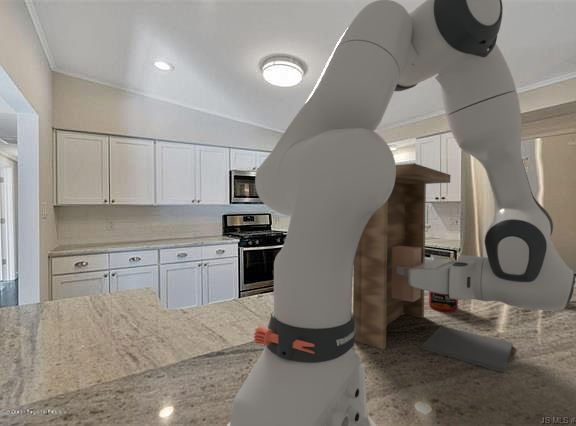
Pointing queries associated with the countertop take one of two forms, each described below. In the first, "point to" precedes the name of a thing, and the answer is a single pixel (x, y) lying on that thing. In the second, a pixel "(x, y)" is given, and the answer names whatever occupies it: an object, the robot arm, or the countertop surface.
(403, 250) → the block
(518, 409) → the countertop surface
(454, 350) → the mat
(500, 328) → the countertop surface
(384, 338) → the shelf
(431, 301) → the canned food
